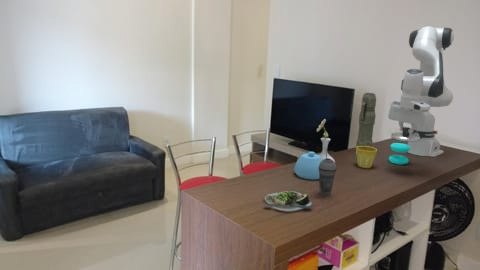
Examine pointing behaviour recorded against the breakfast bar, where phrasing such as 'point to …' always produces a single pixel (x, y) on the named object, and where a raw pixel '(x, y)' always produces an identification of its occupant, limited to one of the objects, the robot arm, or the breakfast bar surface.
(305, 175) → the sugar bowl
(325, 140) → the flower in vase
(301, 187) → the breakfast bar surface
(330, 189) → the beverage cup
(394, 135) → the steel lid
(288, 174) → the breakfast bar surface
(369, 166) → the plant pot
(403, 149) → the donuts
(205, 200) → the breakfast bar surface
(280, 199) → the salad plate
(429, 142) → the robot arm
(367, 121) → the olive green textured cylinder
